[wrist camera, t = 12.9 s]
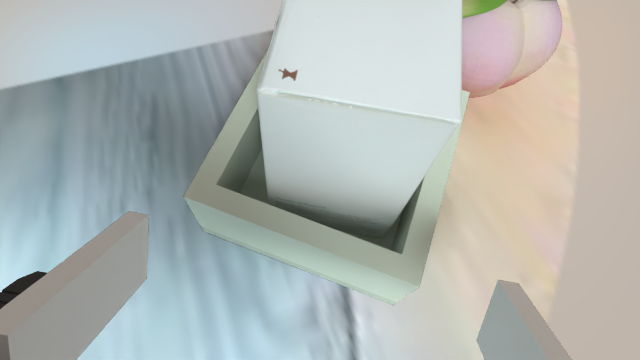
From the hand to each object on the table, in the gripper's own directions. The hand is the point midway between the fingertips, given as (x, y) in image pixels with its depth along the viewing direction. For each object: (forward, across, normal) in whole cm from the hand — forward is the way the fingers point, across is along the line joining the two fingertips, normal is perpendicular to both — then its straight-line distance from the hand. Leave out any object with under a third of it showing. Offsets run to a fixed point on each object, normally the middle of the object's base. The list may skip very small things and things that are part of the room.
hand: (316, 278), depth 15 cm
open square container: (+13, 0, -1) cm, 13 cm away
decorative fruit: (+20, +8, +7) cm, 23 cm away
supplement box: (+12, 0, 0) cm, 12 cm away
